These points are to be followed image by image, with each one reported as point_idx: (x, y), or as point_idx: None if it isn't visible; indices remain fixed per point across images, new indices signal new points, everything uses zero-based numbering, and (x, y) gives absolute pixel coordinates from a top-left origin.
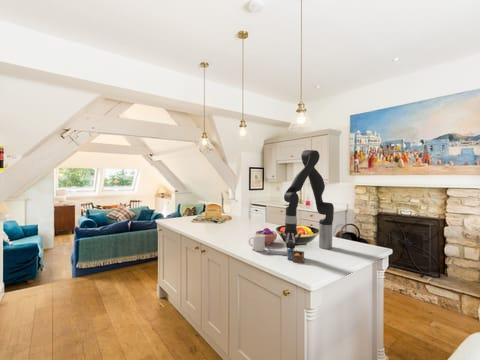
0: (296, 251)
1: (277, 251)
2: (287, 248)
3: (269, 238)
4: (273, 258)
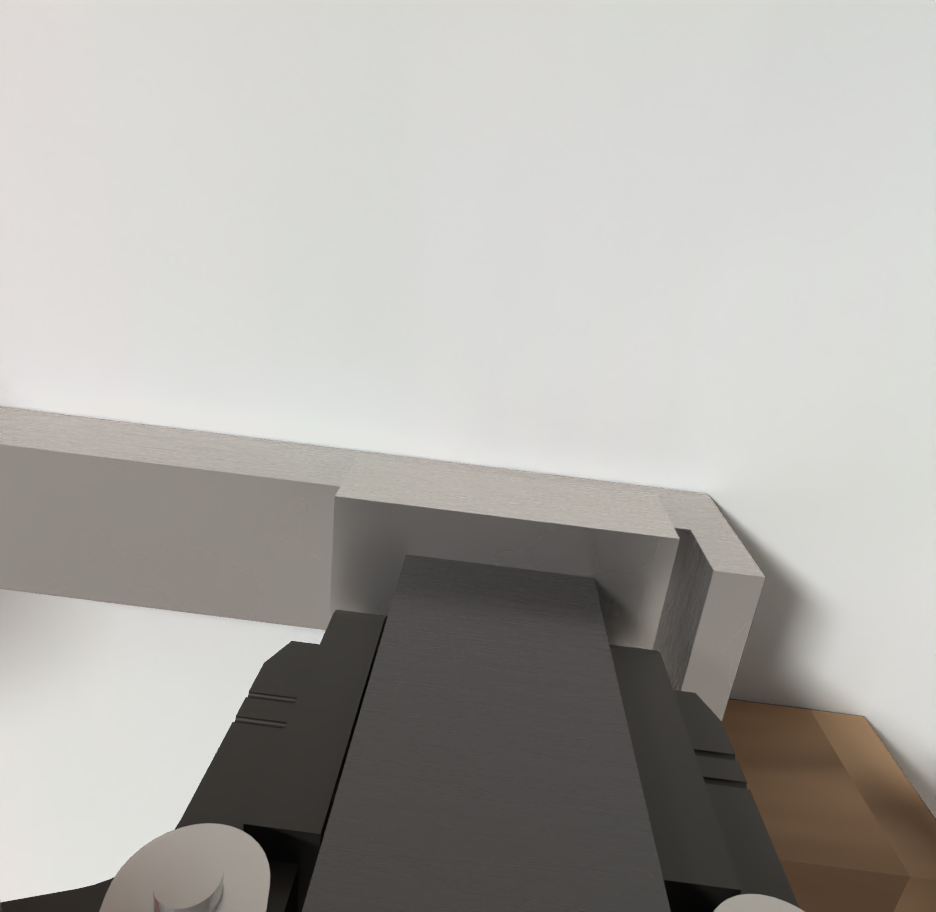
0: None
1: (28, 546)
2: (355, 520)
3: None
4: (65, 831)
